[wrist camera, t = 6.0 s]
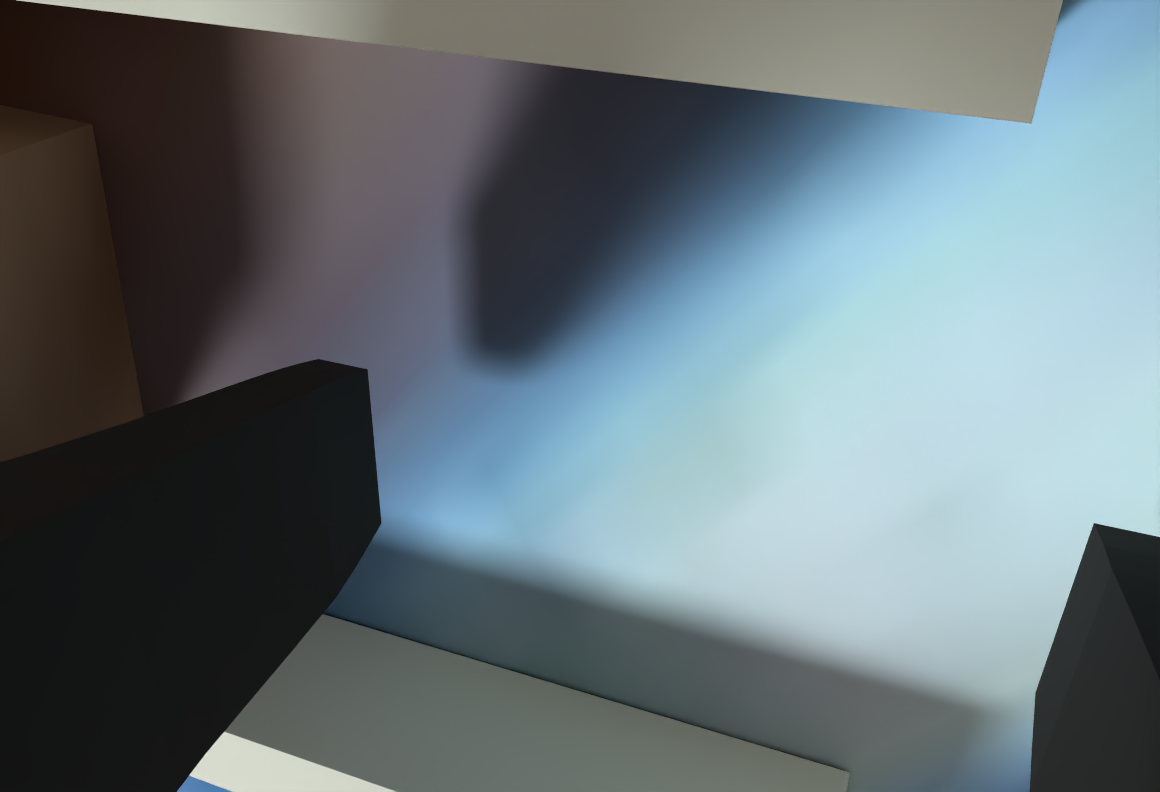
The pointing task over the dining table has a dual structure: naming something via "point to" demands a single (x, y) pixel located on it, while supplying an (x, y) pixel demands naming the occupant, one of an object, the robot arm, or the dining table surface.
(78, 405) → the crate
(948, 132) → the dining table surface
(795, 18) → the cream u-shaped frame
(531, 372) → the dining table surface
